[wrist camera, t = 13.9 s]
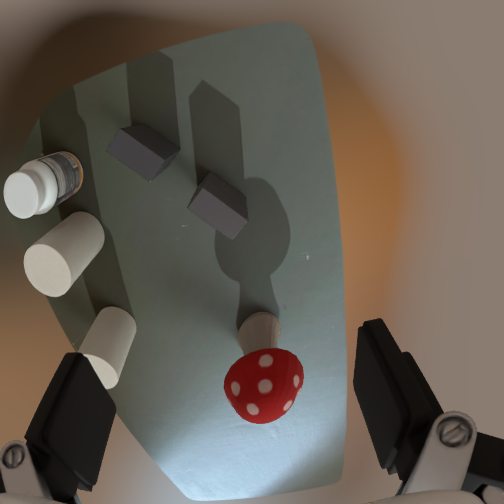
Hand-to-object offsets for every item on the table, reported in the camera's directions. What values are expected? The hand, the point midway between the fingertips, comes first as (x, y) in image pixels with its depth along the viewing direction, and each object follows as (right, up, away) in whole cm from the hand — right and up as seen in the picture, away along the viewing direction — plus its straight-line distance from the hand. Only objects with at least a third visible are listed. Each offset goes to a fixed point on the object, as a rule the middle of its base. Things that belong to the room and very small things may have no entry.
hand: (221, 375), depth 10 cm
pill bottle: (-21, +13, +23) cm, 34 cm away
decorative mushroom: (+2, -6, +34) cm, 34 cm away
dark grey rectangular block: (-2, +11, +25) cm, 28 cm away
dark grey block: (-9, +16, +23) cm, 29 cm away
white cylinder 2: (-18, -6, +32) cm, 37 cm away
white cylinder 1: (-20, +6, +26) cm, 34 cm away
